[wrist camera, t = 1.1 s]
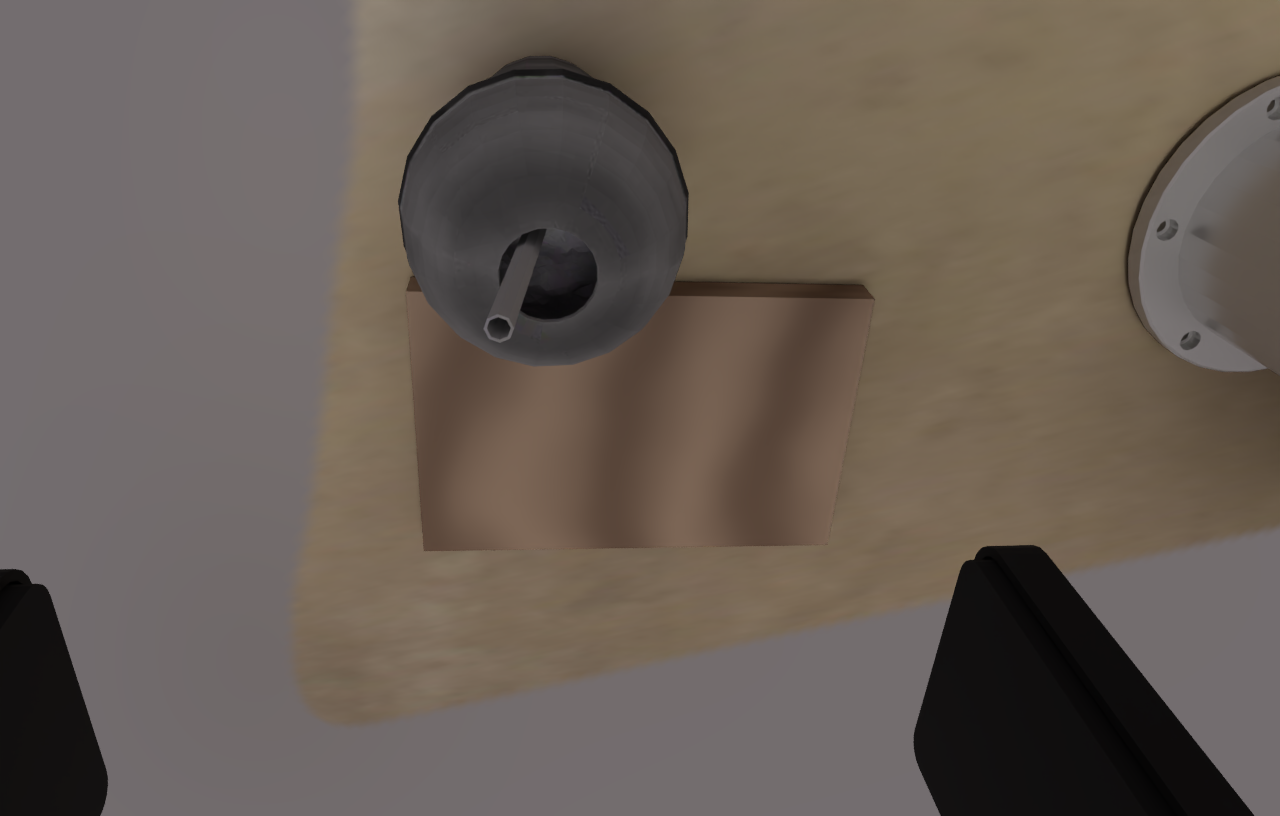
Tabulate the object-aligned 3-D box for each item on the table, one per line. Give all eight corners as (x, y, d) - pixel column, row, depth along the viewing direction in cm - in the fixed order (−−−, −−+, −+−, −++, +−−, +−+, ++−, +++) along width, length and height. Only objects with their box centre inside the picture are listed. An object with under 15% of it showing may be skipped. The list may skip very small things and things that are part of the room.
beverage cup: (549, 258, 36) (564, 604, 18) (396, 125, 33) (241, 386, 15) (684, 118, 34) (845, 359, 16) (534, -38, 31) (535, 53, 13)
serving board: (863, 285, 38) (874, 299, 36) (818, 525, 43) (827, 544, 42) (410, 276, 36) (406, 291, 34) (427, 530, 41) (423, 550, 40)
